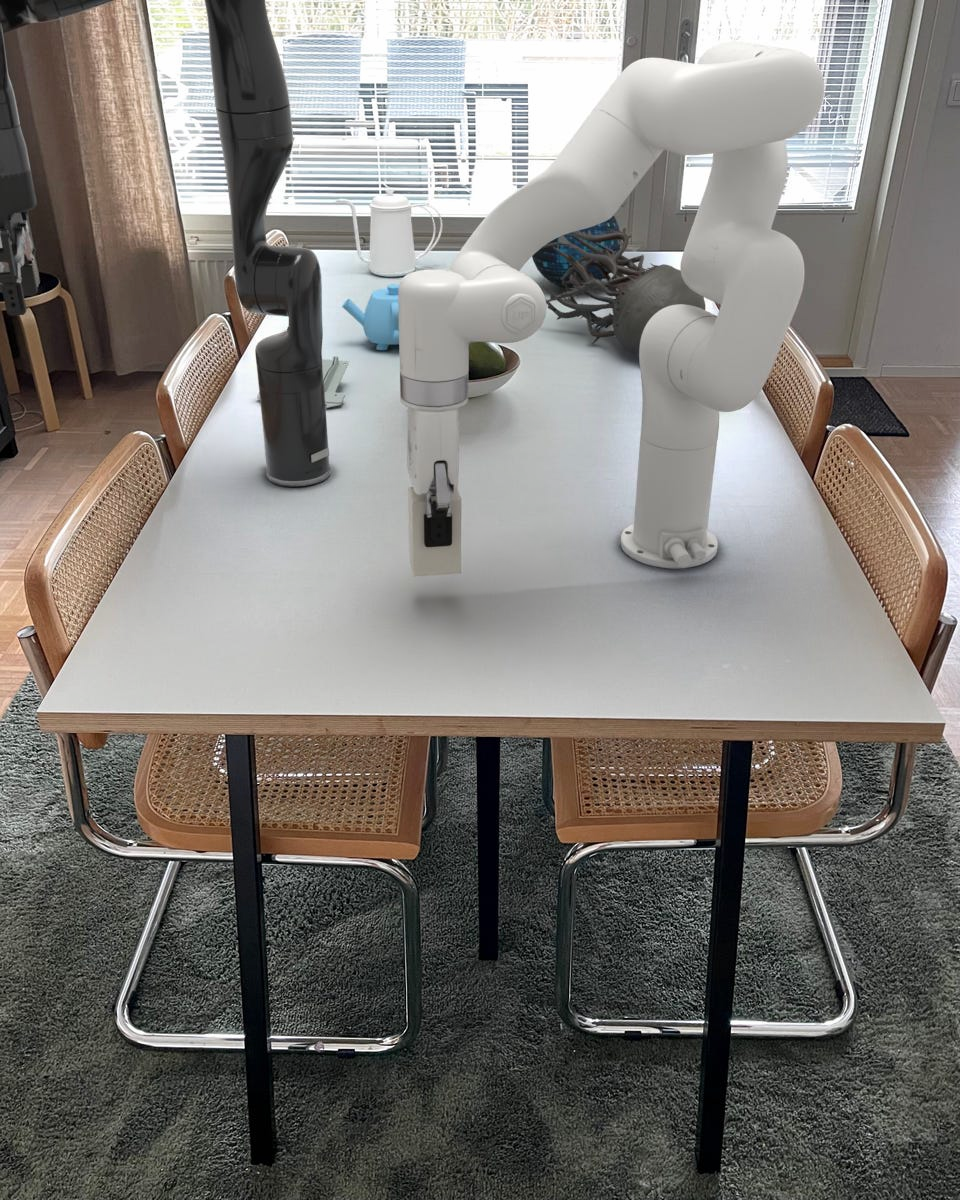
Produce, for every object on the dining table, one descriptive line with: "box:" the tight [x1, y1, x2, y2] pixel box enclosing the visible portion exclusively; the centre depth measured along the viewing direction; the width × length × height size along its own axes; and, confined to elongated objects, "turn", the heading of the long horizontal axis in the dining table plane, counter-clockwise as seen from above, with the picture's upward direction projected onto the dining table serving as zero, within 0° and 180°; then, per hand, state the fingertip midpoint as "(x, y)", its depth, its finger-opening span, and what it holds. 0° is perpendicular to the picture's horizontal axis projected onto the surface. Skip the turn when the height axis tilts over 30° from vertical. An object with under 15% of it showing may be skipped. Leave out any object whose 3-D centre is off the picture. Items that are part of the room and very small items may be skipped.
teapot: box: [341, 283, 399, 351], centre depth 224 cm, size 15×14×11 cm
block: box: [407, 486, 462, 577], centre depth 137 cm, size 4×6×10 cm
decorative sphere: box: [531, 214, 622, 289], centre depth 256 cm, size 20×20×20 cm
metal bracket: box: [256, 356, 350, 409], centre depth 203 cm, size 14×6×15 cm
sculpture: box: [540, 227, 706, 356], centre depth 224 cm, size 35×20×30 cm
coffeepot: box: [333, 187, 443, 278], centre depth 268 cm, size 11×25×19 cm, turn 105°
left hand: (23, 304), depth 145 cm, fingers open, 8 cm apart
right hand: (435, 534), depth 137 cm, fingers closed on block, 4 cm apart
